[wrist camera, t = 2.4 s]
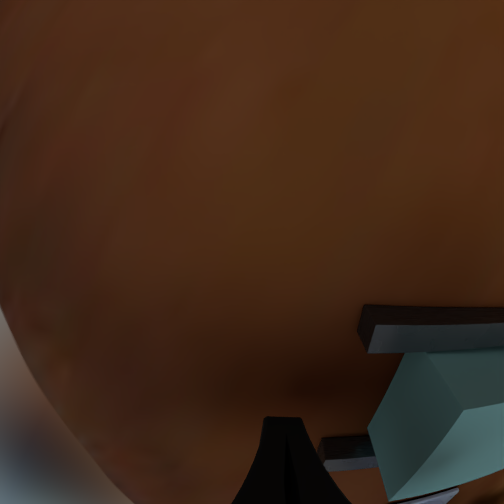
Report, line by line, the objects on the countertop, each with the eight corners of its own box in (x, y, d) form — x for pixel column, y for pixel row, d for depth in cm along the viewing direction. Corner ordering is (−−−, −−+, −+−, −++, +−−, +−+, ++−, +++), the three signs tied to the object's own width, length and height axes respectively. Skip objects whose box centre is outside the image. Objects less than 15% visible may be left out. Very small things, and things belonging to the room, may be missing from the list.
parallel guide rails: (507, 418, 14) (516, 431, 13) (316, 450, 14) (319, 472, 13) (565, 305, 11) (579, 316, 10) (363, 304, 11) (375, 324, 10)
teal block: (482, 412, 14) (514, 464, 9) (366, 425, 14) (388, 501, 9) (526, 334, 12) (574, 381, 7) (411, 331, 12) (463, 410, 7)
